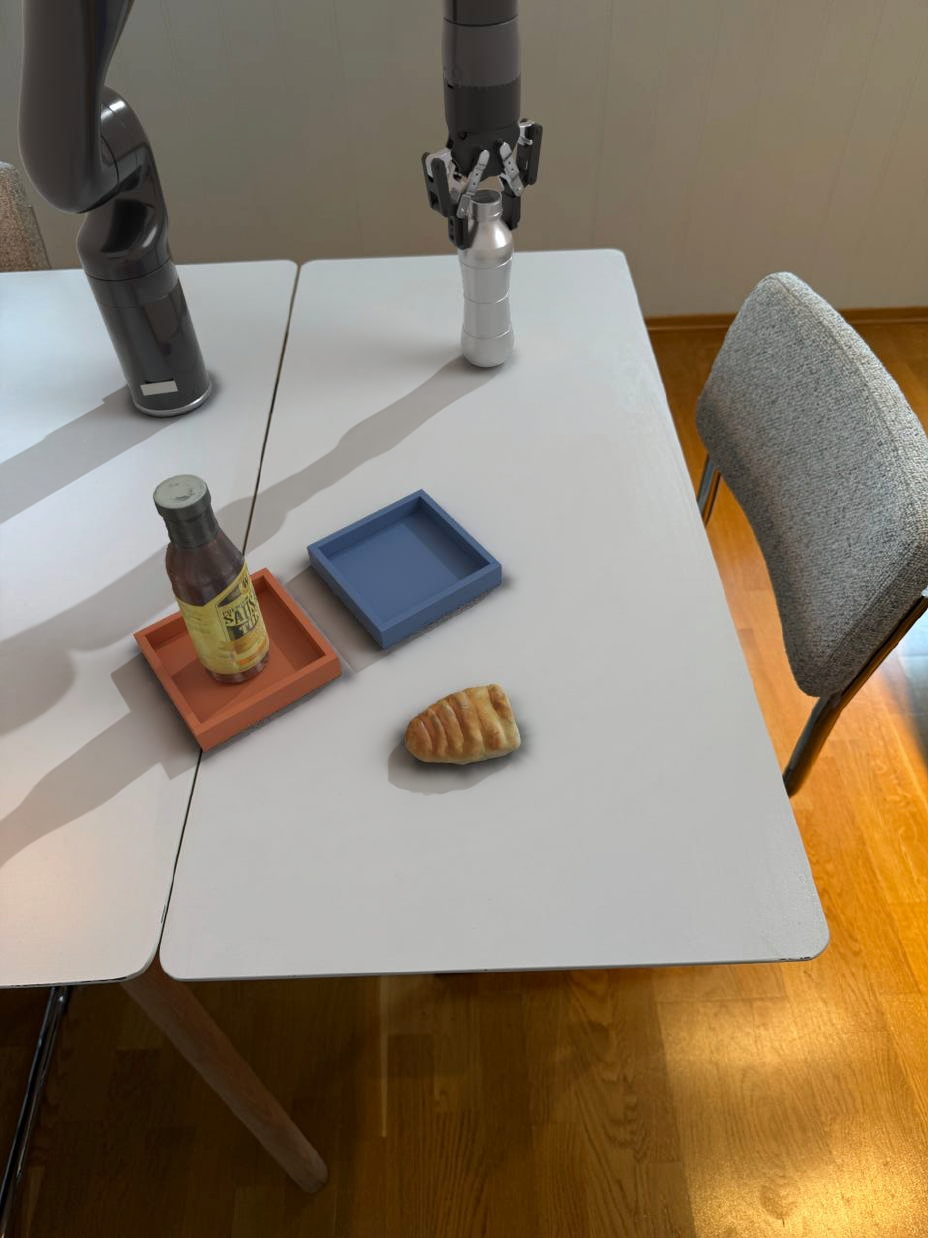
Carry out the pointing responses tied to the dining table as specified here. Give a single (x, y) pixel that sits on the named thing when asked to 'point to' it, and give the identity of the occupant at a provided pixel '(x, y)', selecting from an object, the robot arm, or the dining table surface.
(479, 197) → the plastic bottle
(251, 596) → the sauce bottle
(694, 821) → the dining table surface
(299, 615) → the terracotta tray
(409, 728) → the pastry
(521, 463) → the dining table surface
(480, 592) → the blue tray
